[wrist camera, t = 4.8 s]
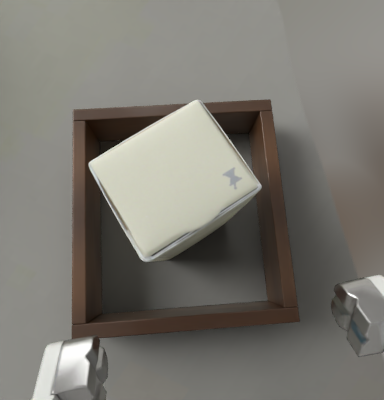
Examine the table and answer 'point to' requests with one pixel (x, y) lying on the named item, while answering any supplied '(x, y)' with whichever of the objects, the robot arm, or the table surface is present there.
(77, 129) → the crate
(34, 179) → the table surface
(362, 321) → the robot arm
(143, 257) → the box
